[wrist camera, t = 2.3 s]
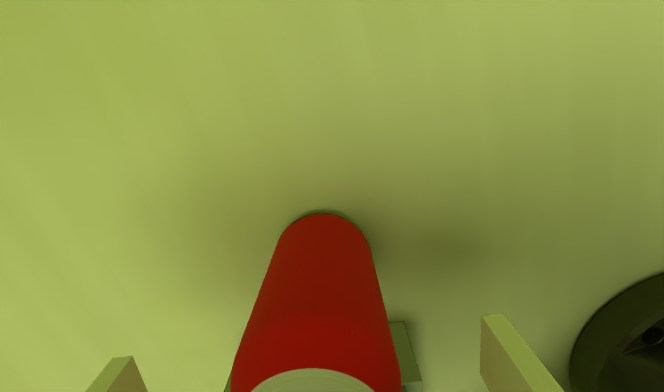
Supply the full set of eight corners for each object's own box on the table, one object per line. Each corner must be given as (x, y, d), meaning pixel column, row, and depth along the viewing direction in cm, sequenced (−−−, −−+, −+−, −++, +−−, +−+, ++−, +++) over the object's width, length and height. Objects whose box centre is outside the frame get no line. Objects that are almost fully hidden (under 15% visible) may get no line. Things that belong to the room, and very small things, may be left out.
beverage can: (329, 189, 20) (325, 317, 8) (387, 256, 21) (452, 444, 10) (259, 244, 21) (171, 424, 9) (318, 304, 22) (305, 522, 11)
